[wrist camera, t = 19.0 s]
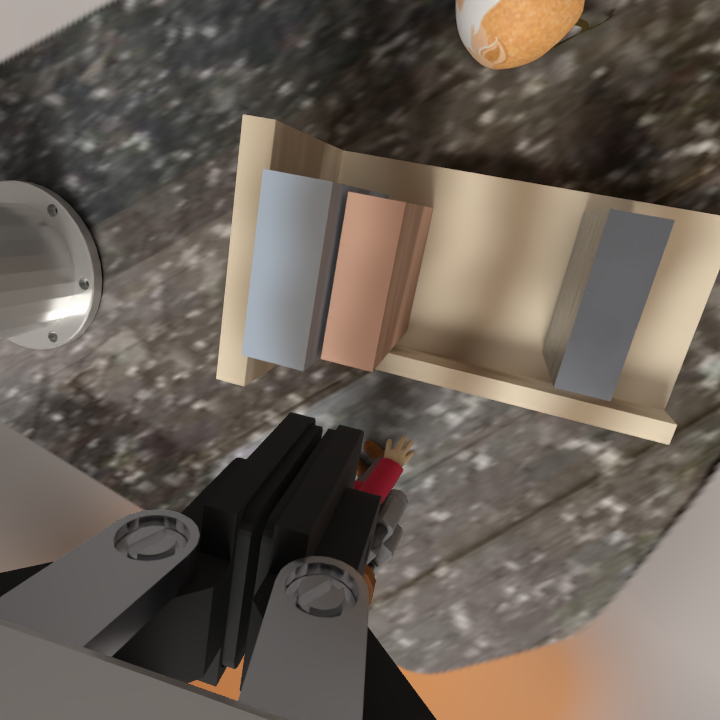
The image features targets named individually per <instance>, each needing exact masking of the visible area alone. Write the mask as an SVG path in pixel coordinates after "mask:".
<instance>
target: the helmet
mask: <svg viewBox="0 0 720 720" xmlns="http://www.w3.org/2000/svg"><path fill="white" fill-rule="evenodd" d="M584 1H585V0H456V21H457V28H458V32H459V35H460V38H461V40H462V42H463V44H464V46H465V47H466V49H467V50H468V51H469V53H470V54H471V55H472V56H473V57H474V59H476V60H477V61H478V62H479V63H480V64H482V65H483V66H485V67H488V68H491V69H507V68H514V67H518V66H521V65H525V64H527V63H530V62H532V61H534V60H536V59H538V58H539V57H541V56H542V55H544V54H545V53H546V52H547V51H549V50H551V49H553V48H555V47H557V46H559V45H560V44H562V43H564V42H566V41H568V40H570V39H572V38H573V37H575V36H577V35H579V34H580V33H582V32H585V31H587V30H590V29H592V28H594V27H596V26H598V25H600V24H602V23H604V22H605V21H607V20H609V19H610V18H611V17H612V16H614V15H615V14H613V15H612V16H610V17H609V18H608V19H606V20H605V21H604V22H602V23H600V24H598V25H596V26H593V27H589V24H588V22H587V21H585V20H581V19H579V17H580V16H581V14H582V12H583V7H584ZM574 25H577V26H580V27H582V29H583V30H582V31H581V32H580V33H579V34H577V35H574V36H572V37H570V38H568V39H566V40H564V41H562V42H560V43H558V42H559V41H560V40H561V39H562V38H563V37H564V36H565V35H566V34H567V33H568V32H569V31H570V30H571V29H572V27H573V26H574ZM557 43H558V44H557Z"/></svg>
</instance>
